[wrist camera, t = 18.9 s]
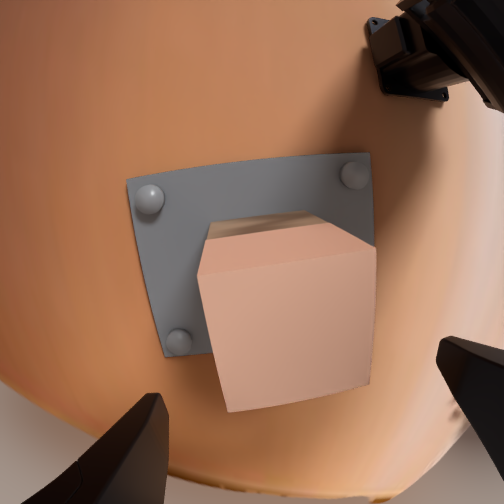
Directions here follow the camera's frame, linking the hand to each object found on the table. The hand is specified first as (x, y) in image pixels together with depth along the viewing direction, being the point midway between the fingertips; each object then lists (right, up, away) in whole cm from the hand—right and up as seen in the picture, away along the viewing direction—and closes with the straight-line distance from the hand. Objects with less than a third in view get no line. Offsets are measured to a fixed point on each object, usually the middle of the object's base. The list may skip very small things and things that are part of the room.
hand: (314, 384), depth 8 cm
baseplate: (-1, +3, +12) cm, 13 cm away
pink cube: (-1, +2, +7) cm, 7 cm away
